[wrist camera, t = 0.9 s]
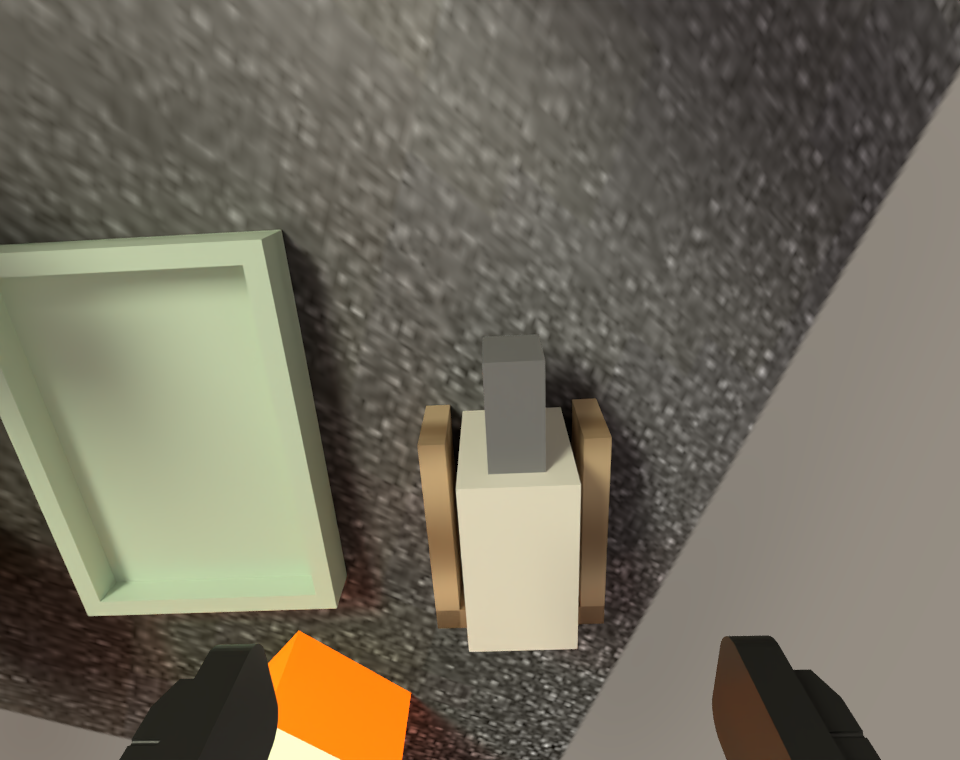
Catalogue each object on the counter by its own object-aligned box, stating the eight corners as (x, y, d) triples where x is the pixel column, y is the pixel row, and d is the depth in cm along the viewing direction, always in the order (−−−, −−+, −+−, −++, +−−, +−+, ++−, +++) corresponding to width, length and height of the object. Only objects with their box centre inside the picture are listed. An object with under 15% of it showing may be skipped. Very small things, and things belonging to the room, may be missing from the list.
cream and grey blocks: (455, 317, 27) (446, 374, 21) (560, 312, 27) (583, 368, 21) (472, 550, 33) (469, 651, 26) (559, 547, 33) (577, 648, 26)
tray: (-22, 245, 26) (-70, 257, 24) (281, 229, 26) (261, 239, 23) (115, 583, 34) (88, 616, 32) (347, 575, 34) (336, 608, 31)
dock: (426, 405, 29) (417, 445, 25) (595, 398, 29) (611, 437, 25) (443, 573, 33) (438, 628, 30) (590, 568, 33) (603, 623, 30)
